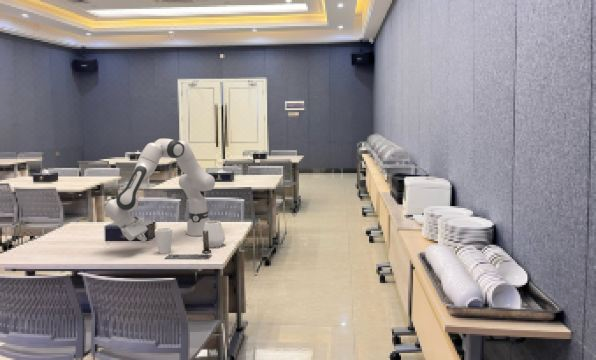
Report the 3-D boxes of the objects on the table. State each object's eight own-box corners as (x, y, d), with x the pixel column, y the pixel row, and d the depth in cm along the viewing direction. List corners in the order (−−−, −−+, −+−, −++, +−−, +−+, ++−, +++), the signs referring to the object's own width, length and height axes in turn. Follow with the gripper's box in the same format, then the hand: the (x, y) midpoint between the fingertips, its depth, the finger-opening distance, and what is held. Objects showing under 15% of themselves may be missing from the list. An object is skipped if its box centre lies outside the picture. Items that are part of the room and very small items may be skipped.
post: (203, 251, 292) (202, 230, 290) (212, 251, 291) (211, 230, 290) (200, 253, 287) (199, 232, 285) (209, 253, 286) (208, 232, 285)
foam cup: (159, 255, 285) (158, 232, 284) (153, 252, 293) (152, 229, 291) (176, 252, 291) (174, 229, 289) (169, 249, 298) (168, 226, 297)
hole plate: (169, 255, 285) (169, 254, 285) (212, 255, 282) (212, 254, 282) (164, 259, 278) (164, 257, 278) (208, 259, 275) (208, 257, 275)
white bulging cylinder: (229, 243, 308) (228, 220, 307) (219, 249, 296) (218, 224, 294) (208, 242, 312) (207, 219, 310) (198, 248, 299) (197, 224, 298)
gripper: (122, 223, 282) (141, 241, 282) (138, 216, 302) (155, 232, 302) (115, 231, 283) (133, 249, 283) (131, 223, 303) (149, 240, 303)
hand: (145, 240), depth 292 cm, fingers closed
